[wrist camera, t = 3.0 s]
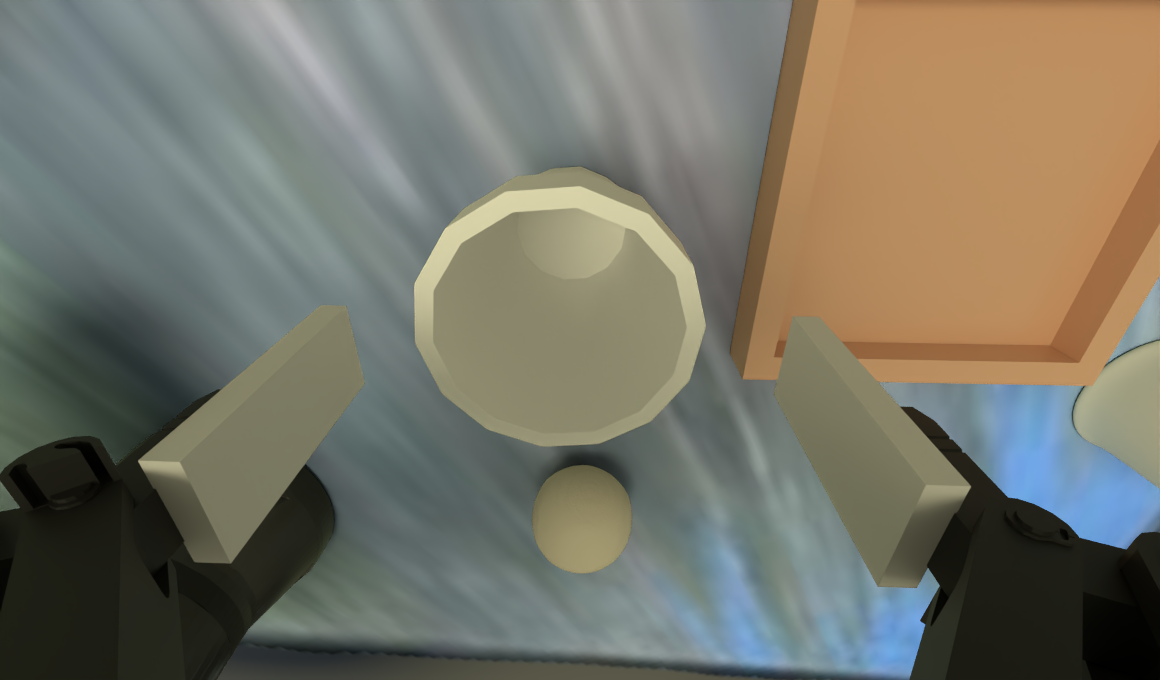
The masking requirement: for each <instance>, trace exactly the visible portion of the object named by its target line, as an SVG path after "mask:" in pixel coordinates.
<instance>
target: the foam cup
mask: <svg viewBox="0 0 1160 680" xmlns="http://www.w3.org/2000/svg"><path fill="white" fill-rule="evenodd" d="M414 297H415V344H416V346H417V348H418V350H419V351H420V353H421V355H422V357H423V359H424V361H425V363H426V365H427V366H428V368H429V370H430V372H431V374H432V376H433V378H434V380H435V382H436V383H437V385H438V387H439V389H440V391H441V393H442V394H443V395H444V396H445V397H447V398H448V399H449V400H450V401H452V402H453V403H454V404H455V405H457V406H458V407H459V408H461V409H462V410H463V411H464V412H466V413H467V414H468V415H469V416H471V417H472V418H473V419H474V420H476V421H477V422H478V423H480V424H481V425H482V426H483V427H485V428H486V429H487V430H490V431H494V432H497V433H500V434H503V435H506V436H510V437H513V438H516V439H519V440H522V441H526V442H529V443H532V444H535V445H538V446H542V447H545V446H566V445H588V444H600V443H602V442H605V441H607V440H609V439H612V438H614V437H616V436H619V435H621V434H623V433H626V432H628V431H630V430H632V429H635V428H637V427H639V426H642V425H644V424H646V423H649V422H651V421H652V420H653V419H654V418H655V417H656V416H657V414H658V413H659V412H660V411H661V410H662V409H663V408H664V407H665V406H666V405H667V404H668V403H669V402H670V401H671V400H672V399H673V398H674V397H675V396H676V394H677V393H678V392H679V391H680V390H681V389H682V388H683V387H684V386H685V385H686V384H687V383H688V382H689V380H690V377H691V374H692V371H693V367H694V364H695V361H696V358H697V354H698V351H699V348H700V345H701V341H702V338H703V335H704V332H705V328H706V323H705V318H704V314H703V309H702V304H701V299H700V294H699V290H698V285H697V280H696V275H695V271H694V266H693V264H692V262H691V260H690V258H689V257H688V255H687V253H686V251H685V249H684V247H683V245H682V243H681V242H680V241H679V240H678V238H677V237H676V236H675V235H674V234H673V232H672V231H671V230H670V229H669V228H668V227H667V225H666V224H665V223H664V222H663V221H662V220H661V218H660V217H659V216H658V215H657V214H656V212H655V211H654V210H653V209H652V208H651V207H650V205H649V204H648V203H647V202H646V201H645V200H644V198H643V197H642V196H640V195H638V194H635V193H633V192H630V191H628V190H626V189H623V188H621V187H619V186H617V185H616V184H615V183H613V182H612V181H611V180H609V179H608V178H607V177H605V176H602V175H600V174H597V173H595V172H593V171H590V170H588V169H585V168H583V167H581V166H579V167H565V168H553V169H550V170H547V171H545V172H542V173H540V174H538V175H526V176H516V177H514V178H513V179H511V180H509V181H508V182H506V183H504V184H503V185H501V186H500V187H498V188H496V189H495V190H493V191H492V192H490V193H488V194H487V195H485V196H483V197H482V198H480V199H479V200H477V201H475V202H474V203H472V204H471V205H469V206H467V207H466V208H464V209H463V210H462V211H461V212H460V213H459V214H458V215H457V216H456V217H455V218H454V220H453V221H452V222H451V223H450V224H449V225H448V226H447V227H446V228H445V230H444V232H443V233H442V235H441V237H440V239H439V241H438V242H437V244H436V246H435V248H434V250H433V251H432V253H431V255H430V257H429V259H428V260H427V262H426V264H425V266H424V267H423V269H422V271H421V273H420V275H419V276H418V278H417V280H416V282H415V284H414Z"/></svg>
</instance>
